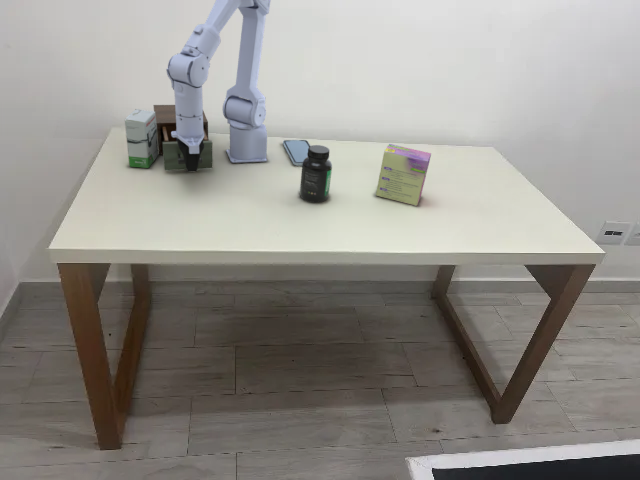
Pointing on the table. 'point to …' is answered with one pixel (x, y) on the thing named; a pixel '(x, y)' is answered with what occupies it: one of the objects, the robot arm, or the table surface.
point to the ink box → (141, 138)
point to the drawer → (175, 156)
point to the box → (403, 174)
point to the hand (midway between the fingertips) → (191, 170)
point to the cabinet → (169, 122)
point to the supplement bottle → (316, 174)
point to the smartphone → (297, 150)
